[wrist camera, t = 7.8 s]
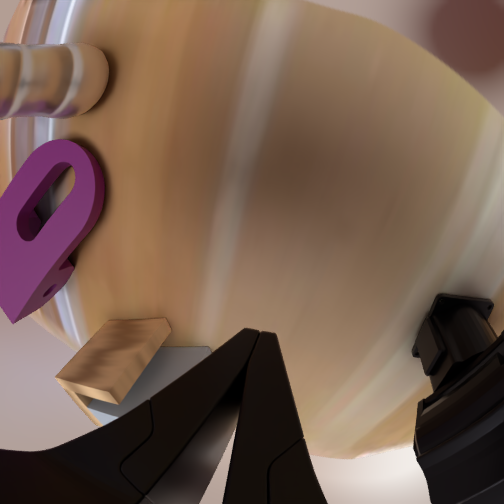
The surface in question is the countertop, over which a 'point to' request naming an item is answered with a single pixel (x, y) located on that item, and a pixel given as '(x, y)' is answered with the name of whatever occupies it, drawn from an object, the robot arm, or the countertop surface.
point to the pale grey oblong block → (151, 380)
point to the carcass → (112, 361)
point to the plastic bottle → (50, 79)
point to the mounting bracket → (45, 226)
